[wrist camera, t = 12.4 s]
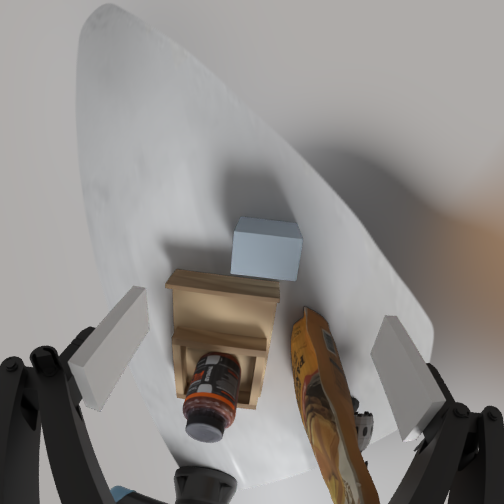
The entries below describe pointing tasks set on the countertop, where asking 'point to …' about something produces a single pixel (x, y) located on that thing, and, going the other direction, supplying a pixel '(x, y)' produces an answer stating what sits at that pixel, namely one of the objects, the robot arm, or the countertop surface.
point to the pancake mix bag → (328, 411)
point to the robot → (362, 426)
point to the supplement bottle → (212, 397)
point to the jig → (222, 326)
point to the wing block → (266, 249)
